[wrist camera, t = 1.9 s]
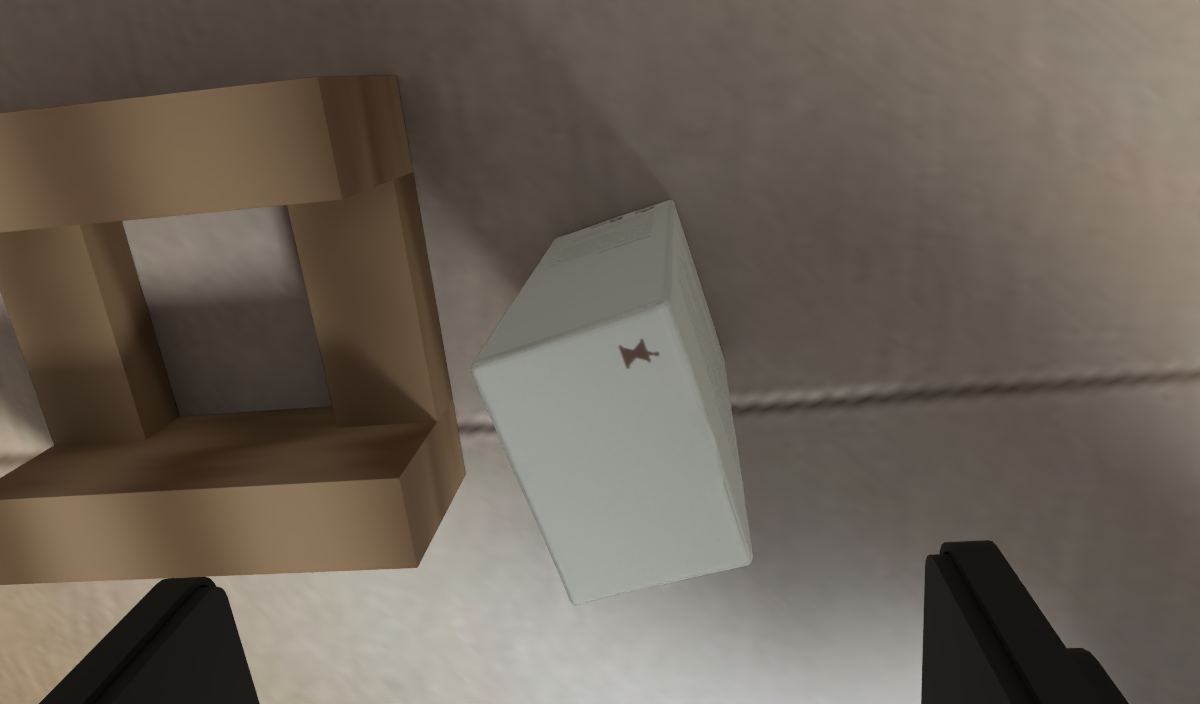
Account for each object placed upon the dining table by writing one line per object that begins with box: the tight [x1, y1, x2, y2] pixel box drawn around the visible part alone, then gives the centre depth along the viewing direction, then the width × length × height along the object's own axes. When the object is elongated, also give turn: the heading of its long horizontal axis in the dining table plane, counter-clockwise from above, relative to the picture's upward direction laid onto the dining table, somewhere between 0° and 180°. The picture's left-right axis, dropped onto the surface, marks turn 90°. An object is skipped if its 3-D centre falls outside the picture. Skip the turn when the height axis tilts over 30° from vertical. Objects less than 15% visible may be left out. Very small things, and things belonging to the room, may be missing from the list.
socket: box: [0, 75, 466, 585], centre depth 26 cm, size 14×14×6 cm
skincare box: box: [471, 200, 753, 605], centre depth 22 cm, size 6×4×12 cm
